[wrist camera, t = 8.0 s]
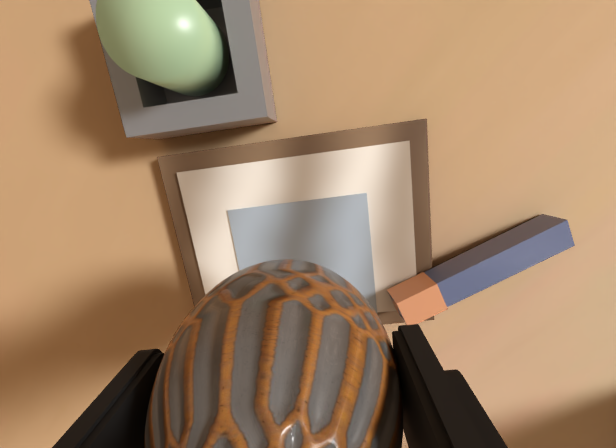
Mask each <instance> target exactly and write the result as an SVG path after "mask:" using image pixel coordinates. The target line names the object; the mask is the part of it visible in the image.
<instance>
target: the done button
mask: <svg viewBox="0 0 616 448" xmlns="http://www.w3.org/2000/svg"><path fill="white" fill-rule="evenodd" d="M96 25H97V30H98V34H99V37H100V40H101V42H102V44H103V46H104V48H105V50H106V51H107V53H108V55H109V56H110V57H111V59H112V60H113V61H114V62H115V63H116V64H117V65H118V66H119V67H120V68H122V69H123V70H124V71H126V72H127V73H129V74H131V75H133V76H135V77H138V78H141V79H143V80H146V81H149V82H151V83H154V84H156V85H159V86H162V87H164V88H167V89H170V90H172V91H175V92H177V93H180V94H183V95H186V96H202V95H205V94H208V93H210V92H211V91H213V90H214V89H215V88H217V87H218V85H219V84H220V83H221V82H222V80H223V79H224V77H225V75H226V72H227V69H228V63H229V51H228V45H227V42H226V39H225V37H224V35H223V33H222V31H221V30H220V28H219V27H218V25H217V24H216V23H215V22H214V21H213V20H212V18H211V17H210V16H209V15H208V14H207V13H206V11H205V10H204V9H203V8H202V7H201V6H200V4H199V3H198V2H197V1H196V0H97V4H96Z"/></svg>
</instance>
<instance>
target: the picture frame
mask: <svg viewBox="0 0 616 448" xmlns="http://www.w3.org/2000/svg"><path fill="white" fill-rule="evenodd" d="M157 159H158V163H159V167H160V171H161V175H162V179H163V183H164V187H165V191H166V195H167V199H168V203H169V207H170V211H171V215H172V219H173V223H174V227H175V231H176V235H177V239H178V243H179V247H180V251H181V255H182V259H183V263H184V267H185V271H186V275H187V279H188V283H189V287H190V291H191V295H192V299H193V303H194V307H195V306H196V305H197V303H198V302H199V301H200V300H201V299H202V298H203V297H204V296H205V295H206V294H207V293H208V292H209V291H210V290H211V289H213V288H214V287H215V286H216V285H217V284H219V283H220V282H221V281H223V280H224V279H226V278H227V277H229V276H231V275H232V274H234V273H236V272H238V271H240V270H242V269H244V268H246V267H249V266H252V265H255V264H258V263H262V262H266V261H271V260H280V259H292V260H302V261H307V262H311V263H315V264H318V265H320V266H323V267H325V268H327V269H330V270H331V271H333V272H335V273H337V274H338V275H340V276H341V277H343V278H344V279H345V280H347V281H348V282H349V283H351V284H352V285H353V286H354V287H355V288H356V289H357V290H358V291H359V292H360V293H361V294H362V295H363V296H364V297H365V298H366V300H367V301H368V302H369V303H370V305H371V306H372V307H373V309H374V310H375V312H376V313H377V315H378V317H379V319H380V321H381V323H382V324H392V323H403V322H404V321H403V319H402V318H401V316H400V315H399V313H398V312H397V310H396V308H395V306H394V304H393V302H392V300H391V297H390V295H389V293H388V291H387V289H389V288H391V287H393V286H395V285H397V284H399V283H401V282H403V281H405V280H407V279H410V278H412V277H414V276H416V275H418V274H420V273H422V272H425V271H427V270H430V269H432V247H431V220H430V193H429V165H428V138H427V119H421V120H414V121H407V122H400V123H393V124H386V125H379V126H372V127H365V128H358V129H351V130H344V131H336V132H329V133H322V134H315V135H308V136H301V137H294V138H287V139H280V140H273V141H266V142H259V143H252V144H245V145H238V146H231V147H224V148H217V149H210V150H203V151H196V152H189V153H182V154H175V155H168V156H161V157H157ZM426 320H434V316H432V317H430V318H428V319H426ZM424 321H425V320H424Z"/></svg>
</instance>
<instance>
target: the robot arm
mask: <svg viewBox="0 0 616 448" xmlns="http://www.w3.org/2000/svg"><path fill="white" fill-rule="evenodd" d="M392 338H393V350H394V354H395V357H396V360H397V363H398V368H399V373H400V378H401V385H402V392H403V411H404V413H403V430H404V433H405V437H406V440H407V443H408V447H409V448H508V447H507V446H506V444H505V443H504V441H503V439H502V438H501V436H500V435H499V433H498V431H497V430H496V428H495V427H494V425H493V423H492V422H491V420H490V419H489V417H488V415H487V414H486V412H485V411H484V409H483V407H482V406H481V404H480V403H479V401H478V399H477V398H476V396H475V395H474V393H473V391H472V390H471V388H470V387H469V385H468V383H467V382H466V380H465V379H464V377H463V375H462V374H461V373H460V371H458V370H446V371H444V370H443V368H442V366H441V364H440V363H439V361H438V359H437V357H436V355H435V354H434V352H433V350H432V348H431V346H430V345H429V343H428V341H427V339H426V337H425V336H424V334H423V332H422V330H421V328H420V326H419V325H418V324H412V325H402V326H399V327H398V331H393V332H392ZM163 356H164V353H162V352H161V351H160V350H159V349H150V350H141V351H138V352H137V353H136V354H135V355H134V356H133V357H132V358H131V359H130V361H129V362H128V363H127V364H126V365H125V366H124V367H123V368H122V370H121V371H120V372H119V373H118V374H117V375H116V376H115V377H114V379H113V380H112V381H111V382H110V383H109V384H108V385H107V386H106V388H105V389H104V390H103V391H102V392H101V393H100V394H99V395H98V397H97V398H96V399H95V400H94V401H93V402H92V403H91V404H90V406H89V407H88V408H87V409H86V410H85V411H84V412H83V413H82V415H81V416H80V417H79V418H78V419H77V420H76V421H75V422H74V424H73V425H72V426H71V427H70V428H69V429H68V430H67V431H66V433H65V434H64V435H63V436H62V437H61V438H60V439H59V440H58V442H57V443H56V444H55V445H54V446H53V447H52V448H145V425H146V417H147V410H148V405H149V401H150V396H151V392H152V389H153V385H154V382H155V378H156V375H157V372H158V369H159V367H160V364H161V362H162V359H163Z"/></svg>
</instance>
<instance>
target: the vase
mask: <svg viewBox="0 0 616 448" xmlns="http://www.w3.org/2000/svg"><path fill="white" fill-rule="evenodd" d="M403 413H404V411H403V392H402V385H401V378H400V373H399V368H398V363H397V360H396V357H395V354H394V350H393V348H392V345H391V342H390V340H389V337H388V335H387V333H386V331H385V328H384V326H383V324H382V323H381V321H380V319H379V317H378V315H377V313H376V312H375V310H374V309H373V307H372V306H371V305H370V303H369V302H368V301H367V300H366V298H365V297H364V296H363V295H362V294H361V293H360V292H359V291H358V290H357V289H356V288H355V287H354V286H353V285H352V284H351V283H349V282H348V281H347V280H345V279H344V278H343V277H341V276H340V275H338V274H337V273H335V272H333V271H331V270H330V269H327V268H325V267H323V266H320V265H318V264H315V263H311V262H307V261H302V260H292V259H280V260H271V261H266V262H262V263H258V264H255V265H252V266H249V267H246V268H244V269H242V270H240V271H238V272H236V273H234V274H232V275H231V276H229V277H227V278H226V279H224V280H223V281H221V282H220V283H219V284H217V285H216V286H215V287H214V288H213V289H211V290H210V291H209V292H208V293H207V294H206V295H205V296H204V297H203V298H202V299H201V300H200V301H199V302H198V303H197V305H196V306H195V307H194V308H193V309H192V310H191V312H190V313H189V314H188V315H187V317H186V318H185V319H184V321H183V322H182V324H181V325H180V326H179V328H178V329H177V331H176V333H175V334H174V336H173V338H172V340H171V342H170V344H169V346H168V348H167V350H166V352H165V354H164V356H163V359H162V362H161V364H160V367H159V369H158V372H157V375H156V378H155V382H154V385H153V389H152V392H151V396H150V401H149V405H148V410H147V417H146V425H145V448H401V447H402V437H403Z"/></svg>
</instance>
